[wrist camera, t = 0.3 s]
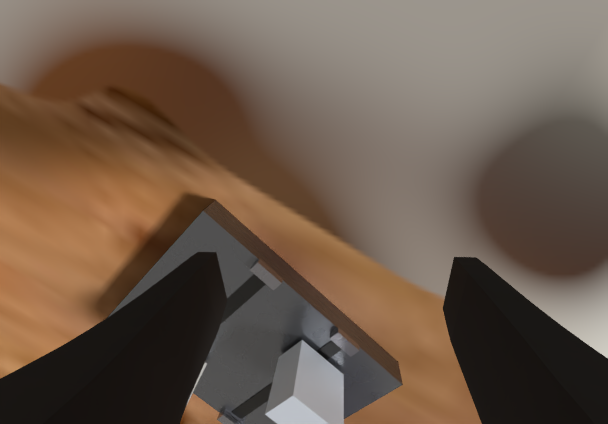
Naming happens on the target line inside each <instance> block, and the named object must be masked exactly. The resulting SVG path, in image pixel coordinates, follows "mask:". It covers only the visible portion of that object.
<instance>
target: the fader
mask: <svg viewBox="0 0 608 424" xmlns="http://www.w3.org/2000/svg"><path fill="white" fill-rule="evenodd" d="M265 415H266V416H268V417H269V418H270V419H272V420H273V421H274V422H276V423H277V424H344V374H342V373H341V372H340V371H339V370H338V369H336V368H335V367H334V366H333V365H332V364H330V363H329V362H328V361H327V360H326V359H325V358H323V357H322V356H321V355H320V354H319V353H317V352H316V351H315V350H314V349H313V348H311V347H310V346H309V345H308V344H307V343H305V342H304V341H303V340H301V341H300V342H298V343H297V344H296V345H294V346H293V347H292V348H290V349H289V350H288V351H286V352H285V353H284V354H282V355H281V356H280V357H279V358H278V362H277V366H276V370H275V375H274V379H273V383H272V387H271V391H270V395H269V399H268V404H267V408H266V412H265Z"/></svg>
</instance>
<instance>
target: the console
mask: <svg viewBox="0 0 608 424" xmlns="http://www.w3.org/2000/svg"><path fill="white" fill-rule="evenodd" d="M197 252H216V253H217V257H218V261H219V266H220V270H221V274H222V279H223V283H224V287H225V292H226V296H227V303H226V307H225V311H224V314H223V318H222V321H221V324H220V328H219V330H218V333H217V335H216V338H215V340H214V342H213V345H212V347H211V349H210V352H209V354H208V356H207V359H206V361H205V363H207V365H206V367H205V369H204V371H203V373H202V375H201V377H200V379H199V381H198V383H197V385H196V387H195V389H194V391H193V393H194V394H195V395H197V396H198V397H199V398H201V399H202V400H203V401H205V402H206V403H207V404H209V405H210V406H211V407H213V408H214V409H216V410H217V411H218V412H220V413H219V416H218V418H217V420H219V421H220V422H221V423H223V424H277V423H276V422H274V421H273V420H272V419H270V418H269V417H268V416H266V415H265V412H266V408H267V404H268V399H269V395H270V391H271V387H272V383H273V379H274V375H275V370H276V366H277V362H278V358H279V357H280V356H281V355H282V354H284V353H285V352H286V351H288V350H289V349H290V348H292V347H293V346H294V345H296V344H297V343H298V342H300V341H301V340H303V341H304V342H305V343H307V344H308V345H309V346H310V347H311V348H313V349H314V350H315V351H316V352H317V353H319V354H320V355H321V356H322V357H323V358H325V359H326V360H327V361H328V362H329V363H330V364H332V365H333V366H334V367H335V368H336V369H338V370H339V371H340V372H341V373H342V374H344V419H345V418H347V417H348V416H350V415H352V414H353V413H355V412H357V411H359V410H360V409H362V408H364V407H365V406H367V405H369V404H371V403H372V402H374V401H376V400H377V399H379V398H381V397H382V396H384V395H386V394H388V393H389V392H391V391H393V390H394V389H396V388H398V387H400V386H401V385H403V384H402V379H401V374H400V369H399V364H398V361H396V360H395V359H394V358H393V357H392V356H391V355H390V354H389V353H387V352H386V351H385V350H384V349H383V348H382V347H381V346H380V345H378V344H377V343H376V342H375V341H374V340H373V339H372V338H371V337H369V336H368V335H367V334H366V333H365V332H364V331H363V330H362V329H360V328H359V327H358V326H357V325H356V324H355V323H354V322H353V321H351V320H350V319H349V318H348V317H347V316H346V315H345V314H343V313H342V312H341V311H340V310H339V309H338V308H337V307H336V306H334V305H333V304H332V303H331V302H330V301H329V300H328V299H327V298H325V297H324V296H323V295H322V294H321V293H320V292H319V291H318V290H316V289H315V288H314V287H313V286H312V285H311V284H310V283H309V282H307V281H306V280H305V279H304V278H303V277H302V276H301V275H300V274H298V273H297V272H296V271H295V270H294V269H293V268H292V267H291V266H289V265H288V264H287V263H286V262H285V261H284V260H283V259H282V258H280V257H279V256H278V255H277V254H276V253H275V252H274V251H272V250H271V249H270V248H269V247H268V246H267V245H266V244H265V243H263V242H262V241H261V240H260V239H259V238H258V237H257V236H256V235H254V234H253V233H252V232H251V231H250V230H249V229H248V228H247V227H245V226H244V225H243V224H242V223H241V222H240V221H239V220H238V219H236V218H235V217H234V216H233V215H232V214H231V213H230V212H229V211H227V210H226V209H225V208H224V207H223V206H222V205H221V204H220V203H218V202H217V201H216V200H215V201H214V202H213V203H211V204H210V205H209V206H208V207H207V208H206V209H205V210H203V211H202V213H201V214H200V215H199V216H198V217H197V218H196V219H195V220H194V221H193V223H192V224H191V225H190V226H189V227H188V228H187V229H186V230H185V232H184V233H183V234H182V235H181V236H180V237H179V238H178V239H177V240H176V242H175V243H174V244H173V245H172V246H171V247H170V248H169V249H168V250H167V252H166V253H165V254H164V255H163V256H162V257H161V258H160V259H159V261H158V262H157V263H156V264H155V265H154V266H153V267H152V268H151V269H150V271H149V272H148V273H147V274H146V275H145V276H144V277H143V278H142V279H141V281H140V282H139V283H138V284H137V285H136V286H135V287H134V288H133V290H132V291H131V292H130V293H129V294H128V295H127V296H126V297H125V298H124V300H123V301H122V302H121V303H120V304H119V305H118V306H117V307H116V309H115V310H114V311H113V312H112V313H111V314H110V315H109V316H111V315H112V314H114V313H115V312H117V311H118V310H119V309H121V308H122V307H124V306H125V305H127V304H128V303H129V302H131V301H132V300H134V299H135V298H137V297H138V296H139V295H141V294H142V293H144V292H145V291H146V290H148V289H149V288H150V287H152V286H153V285H154V284H156V283H157V282H158V281H160V280H161V279H162V278H164V277H165V276H166V275H167V274H169V273H170V272H171V271H173V270H174V269H175V268H177V267H178V266H179V265H181V264H182V263H183V262H184V261H186V260H187V259H189V258H190V257H191V256H193V255H194V254H196V253H197ZM109 316H108V317H109ZM108 317H107V318H108Z"/></svg>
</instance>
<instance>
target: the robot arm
mask: <svg viewBox="0 0 608 424" xmlns="http://www.w3.org/2000/svg"><path fill="white" fill-rule="evenodd" d="M226 303H227V296H226V292H225V287H224V283H223V279H222V274H221V270H220V266H219V261H218V257H217V253H216V252H197V253H196V254H194V255H193V256H191V257H190V258H189V259H187V260H186V261H184V262H183V263H182V264H181V265H179V266H178V267H177V268H175V269H174V270H173V271H171V272H170V273H169V274H167V275H166V276H165V277H164V278H162V279H161V280H160V281H158V282H157V283H156V284H154V285H153V286H152V287H150V288H149V289H148V290H146V291H145V292H144V293H142V294H141V295H139V296H138V297H137V298H135V299H134V300H132V301H131V302H129V303H128V304H127V305H125V306H124V307H122V308H121V309H119V310H118V311H117V312H115V313H114V314H112V315H111V316H109V317H108V318H106V319H105V320H103V321H102V322H100V323H99V324H97V325H96V326H94V327H92V328H91V329H89V330H88V331H86V332H84V333H83V334H81V335H79V336H78V337H76V338H74V339H73V340H71V341H69V342H68V343H66V344H64V345H63V346H61V347H59V348H57V349H56V350H54V351H52V352H50V353H48V354H46V355H44V356H42V357H41V358H39V359H37V360H35V361H33V362H31V363H29V364H28V365H26V366H24V367H22V368H20V369H18V370H16V371H15V372H13V373H11V374H9V375H7V376H5V377H3V378H1V379H0V424H180V421H181V418H182V415H183V413H184V410H185V408H186V405H187V402H188V400H189V397H190V395H191V393H192V391H193V388H194V386H195V384H196V381H197V379H198V377H199V375H200V372H201V370H202V368H203V365H204V363H205V361H206V359H207V356H208V354H209V352H210V349H211V347H212V345H213V342H214V340H215V338H216V335H217V333H218V330H219V328H220V324H221V321H222V318H223V314H224V311H225V307H226ZM443 311H444V315H445V320H446V324H447V328H448V332H449V336H450V340H451V343H452V346H453V349H454V351H455V354H456V357H457V359H458V362H459V365H460V367H461V370H462V373H463V375H464V378H465V380H466V383H467V386H468V388H469V391H470V394H471V396H472V399H473V401H474V404H475V407H476V409H477V412H478V415H479V417H480V420H481V422H482V424H608V358H606V357H605V356H603V355H602V354H600V353H598V352H597V351H596V350H594V349H593V348H592V347H590V346H589V345H587V344H586V343H584V342H583V341H582V340H580V339H579V338H578V337H576V336H575V335H574V334H572V333H571V332H569V331H568V330H567V329H565V328H564V327H562V326H561V325H560V324H558V323H557V322H556V321H555V320H553V319H552V318H551V317H549V316H548V315H547V314H545V313H544V312H543V311H542V310H540V309H539V308H538V307H536V306H535V305H534V304H533V303H531V302H530V301H529V300H528V299H526V298H525V297H524V296H523V295H522V294H520V293H519V292H518V291H516V290H515V289H514V288H513V287H512V286H511V285H509V284H508V283H507V282H506V281H505V280H503V279H502V278H501V277H500V276H498V275H497V274H496V273H495V272H494V271H493V270H491V269H490V268H489V267H488V266H486V265H485V264H484V263H482V262H481V261H480V260H479V259H477V258H471V257H454V260H453V265H452V269H451V274H450V278H449V283H448V287H447V292H446V296H445V301H444V305H443Z"/></svg>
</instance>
